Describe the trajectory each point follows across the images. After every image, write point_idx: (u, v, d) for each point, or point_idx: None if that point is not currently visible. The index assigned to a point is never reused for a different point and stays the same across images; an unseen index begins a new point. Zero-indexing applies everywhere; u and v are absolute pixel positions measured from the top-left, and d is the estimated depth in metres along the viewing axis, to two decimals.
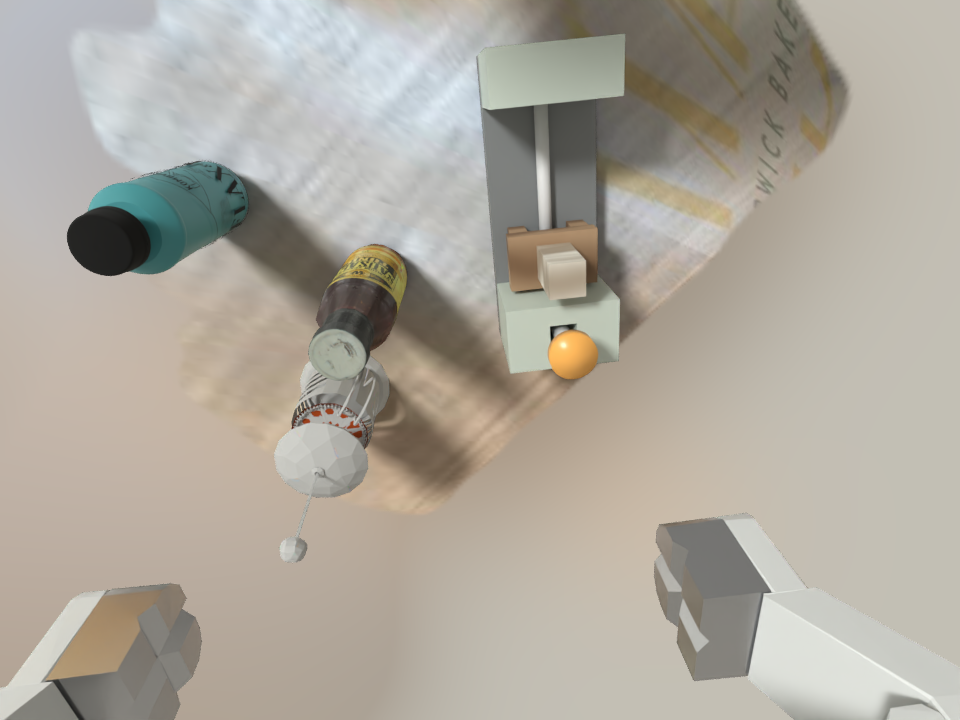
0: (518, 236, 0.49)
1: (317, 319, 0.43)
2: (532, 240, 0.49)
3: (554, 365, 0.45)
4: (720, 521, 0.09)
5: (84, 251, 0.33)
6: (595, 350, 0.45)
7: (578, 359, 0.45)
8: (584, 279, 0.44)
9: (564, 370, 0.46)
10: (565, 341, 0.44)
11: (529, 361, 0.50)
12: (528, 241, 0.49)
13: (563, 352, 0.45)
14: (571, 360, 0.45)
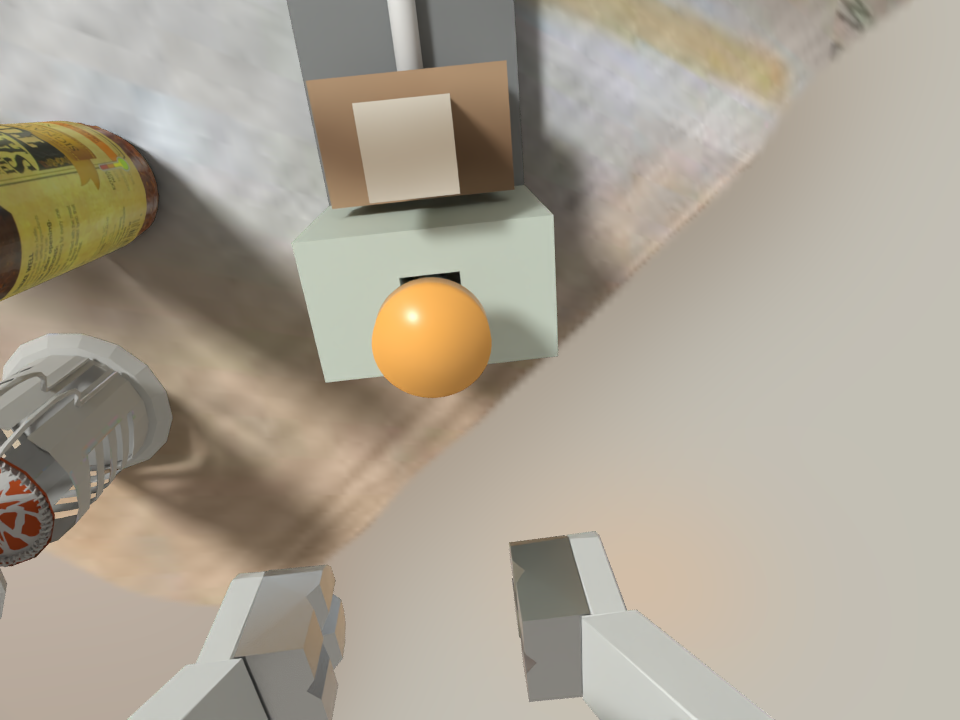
0: None
1: None
2: (362, 88, 0.22)
3: (386, 364, 0.19)
4: (565, 540, 0.09)
5: None
6: (483, 327, 0.18)
7: (443, 350, 0.18)
8: (451, 147, 0.17)
9: (412, 377, 0.19)
10: (405, 303, 0.18)
11: (364, 357, 0.23)
12: (353, 90, 0.22)
13: (403, 332, 0.18)
14: (426, 352, 0.18)
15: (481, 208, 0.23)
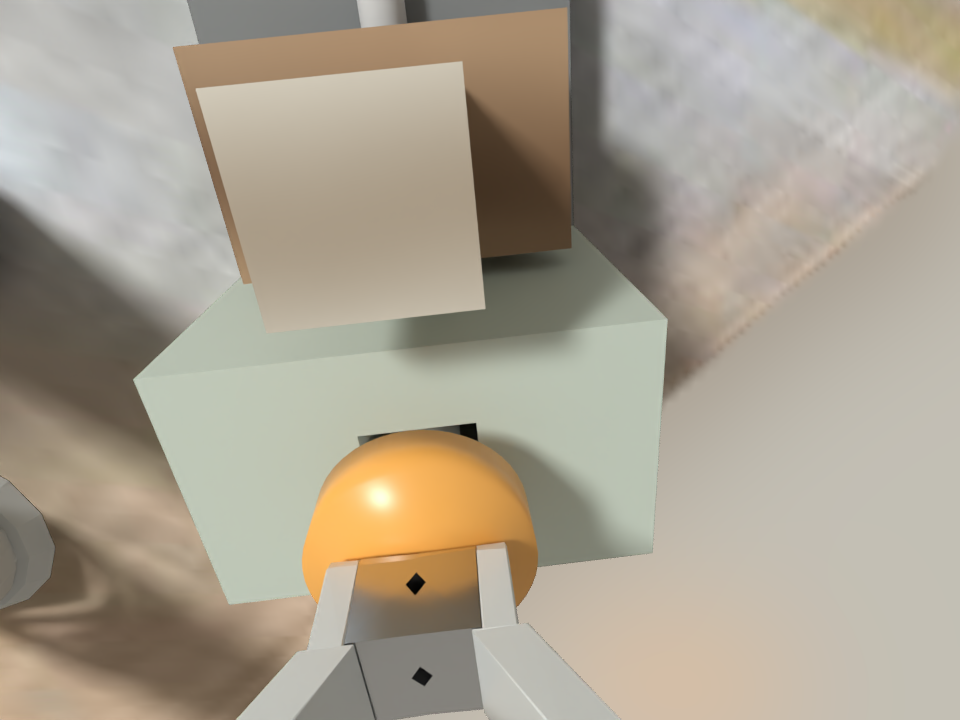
0: None
1: None
2: (286, 62, 0.11)
3: None
4: (471, 551, 0.09)
5: None
6: (523, 535, 0.09)
7: None
8: (464, 202, 0.07)
9: None
10: (367, 499, 0.09)
11: (297, 564, 0.12)
12: (269, 66, 0.11)
13: (364, 548, 0.09)
14: None
15: (513, 286, 0.13)
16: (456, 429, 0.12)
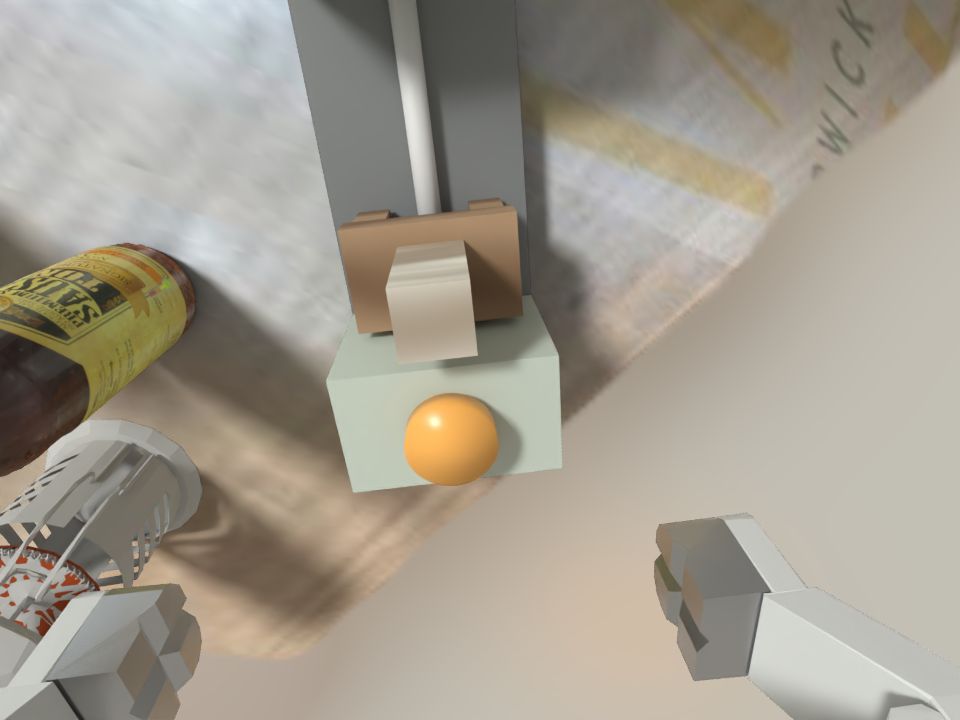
0: (359, 228, 0.24)
1: None
2: (388, 235, 0.25)
3: (415, 461, 0.23)
4: (719, 521, 0.09)
5: None
6: (492, 434, 0.23)
7: (460, 451, 0.23)
8: (470, 320, 0.20)
9: (436, 471, 0.24)
10: (431, 417, 0.23)
11: (388, 471, 0.26)
12: (380, 237, 0.25)
13: (429, 438, 0.23)
14: (446, 453, 0.23)
15: (493, 335, 0.26)
16: None
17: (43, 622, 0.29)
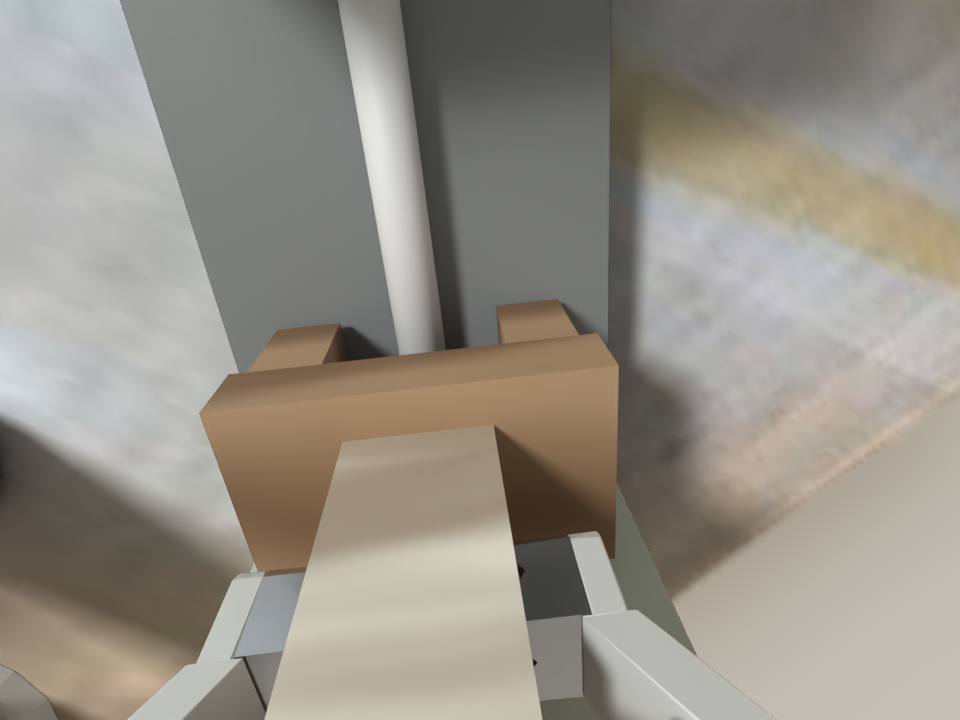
0: (254, 403, 0.11)
1: None
2: (319, 420, 0.11)
3: None
4: (566, 540, 0.09)
5: None
6: None
7: None
8: None
9: None
10: None
11: None
12: (301, 425, 0.11)
13: None
14: None
15: None
16: None
17: None
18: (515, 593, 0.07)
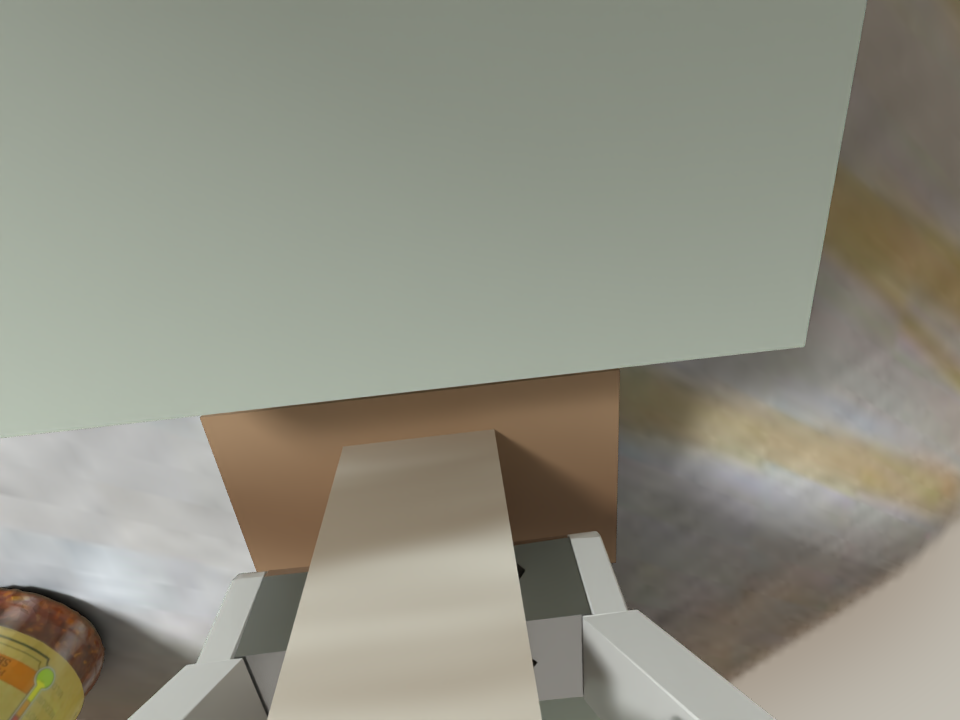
0: None
1: None
2: (320, 425, 0.11)
3: None
4: (566, 540, 0.09)
5: None
6: None
7: None
8: None
9: None
10: None
11: None
12: (302, 429, 0.11)
13: None
14: None
15: None
16: None
17: None
18: (516, 600, 0.07)
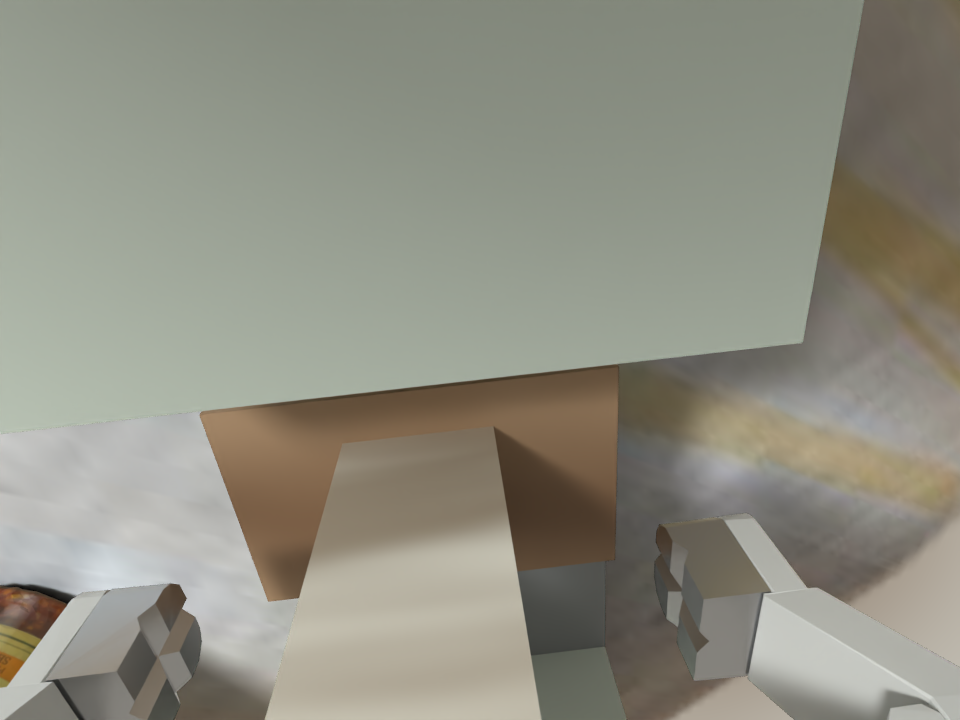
0: (254, 405, 0.11)
1: None
2: (319, 422, 0.11)
3: None
4: (719, 521, 0.09)
5: None
6: None
7: None
8: None
9: None
10: None
11: None
12: (301, 427, 0.11)
13: None
14: None
15: None
16: None
17: None
18: (515, 595, 0.07)
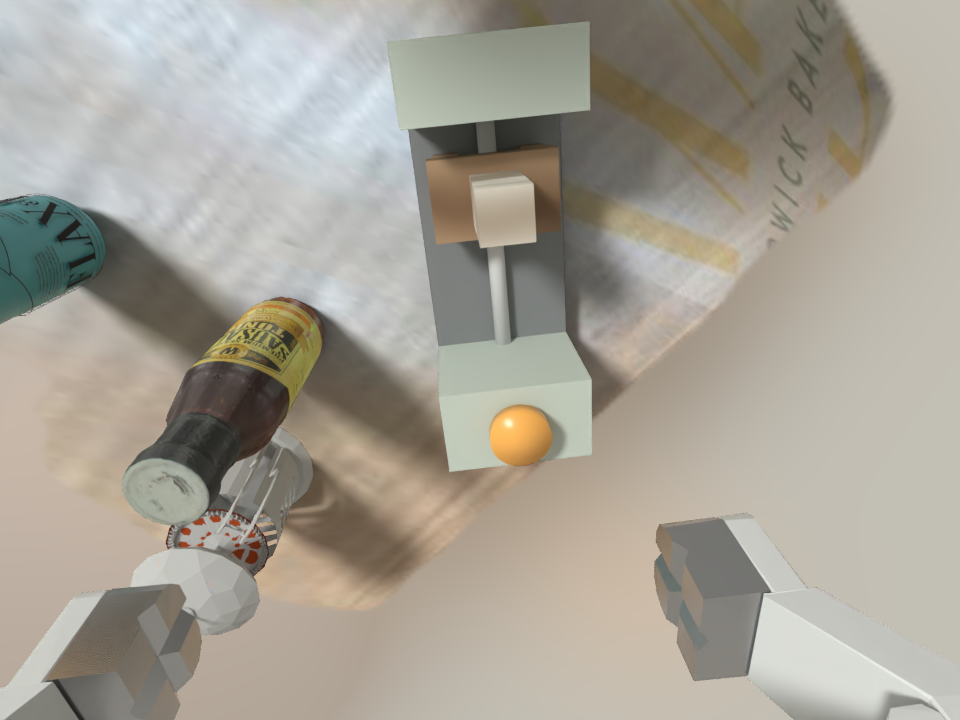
0: (441, 160, 0.33)
1: (166, 420, 0.31)
2: (462, 166, 0.33)
3: (497, 449, 0.36)
4: (720, 521, 0.09)
5: None
6: (548, 431, 0.35)
7: (527, 442, 0.35)
8: (532, 214, 0.28)
9: (510, 456, 0.36)
10: (509, 421, 0.35)
11: (474, 457, 0.38)
12: (456, 167, 0.33)
13: (507, 434, 0.35)
14: (518, 444, 0.35)
15: (544, 364, 0.38)
16: None
17: None
18: (526, 179, 0.30)
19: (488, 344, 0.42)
